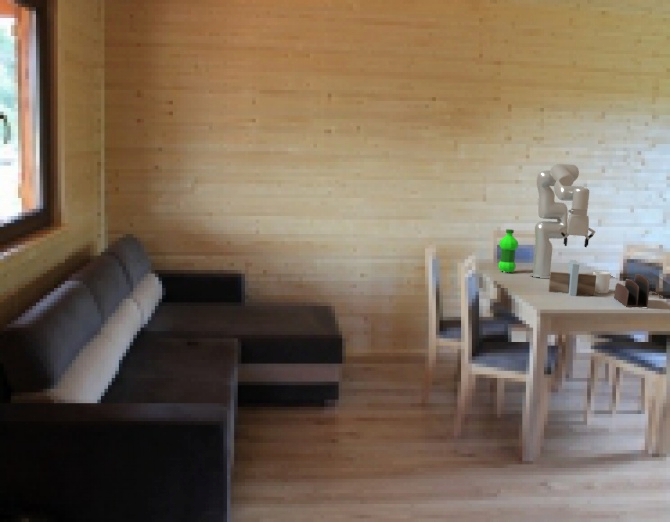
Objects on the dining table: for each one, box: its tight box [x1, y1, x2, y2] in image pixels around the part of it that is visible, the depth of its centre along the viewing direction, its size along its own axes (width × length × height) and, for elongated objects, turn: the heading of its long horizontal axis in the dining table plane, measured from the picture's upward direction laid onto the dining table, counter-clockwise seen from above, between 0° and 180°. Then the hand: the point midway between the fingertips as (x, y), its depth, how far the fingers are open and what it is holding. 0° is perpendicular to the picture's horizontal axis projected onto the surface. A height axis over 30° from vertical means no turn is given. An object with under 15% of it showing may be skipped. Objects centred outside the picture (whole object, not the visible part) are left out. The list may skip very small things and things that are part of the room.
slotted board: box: [548, 271, 596, 296], centre depth 357 cm, size 3×22×10 cm, turn 79°
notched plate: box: [567, 259, 580, 297], centre depth 357 cm, size 14×3×16 cm, turn 169°
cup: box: [592, 270, 611, 294], centre depth 365 cm, size 8×12×10 cm
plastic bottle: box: [498, 228, 519, 273], centre depth 408 cm, size 10×10×25 cm
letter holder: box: [613, 273, 651, 308], centre depth 338 cm, size 10×20×14 cm, turn 174°
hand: (575, 246), depth 354 cm, fingers open, 9 cm apart
